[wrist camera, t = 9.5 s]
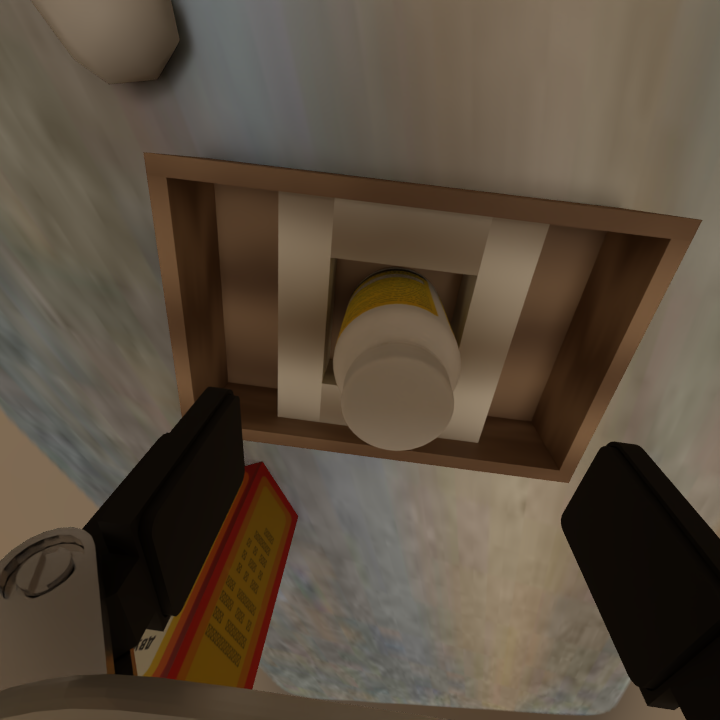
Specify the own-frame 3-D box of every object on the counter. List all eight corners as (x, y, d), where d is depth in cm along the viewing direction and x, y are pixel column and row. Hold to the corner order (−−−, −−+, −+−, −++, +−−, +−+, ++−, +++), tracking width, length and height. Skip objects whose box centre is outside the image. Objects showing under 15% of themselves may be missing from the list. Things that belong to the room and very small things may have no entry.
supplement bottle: (329, 305, 21) (288, 394, 13) (403, 245, 20) (414, 301, 11) (386, 369, 23) (384, 486, 14) (459, 318, 21) (508, 419, 13)
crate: (205, 158, 19) (143, 152, 14) (621, 208, 19) (702, 220, 14) (223, 383, 26) (184, 432, 21) (534, 423, 25) (568, 482, 20)
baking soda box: (262, 461, 29) (139, 739, 15) (298, 516, 31) (223, 798, 17) (166, 487, 31) (-23, 752, 17) (207, 536, 34) (73, 802, 19)
